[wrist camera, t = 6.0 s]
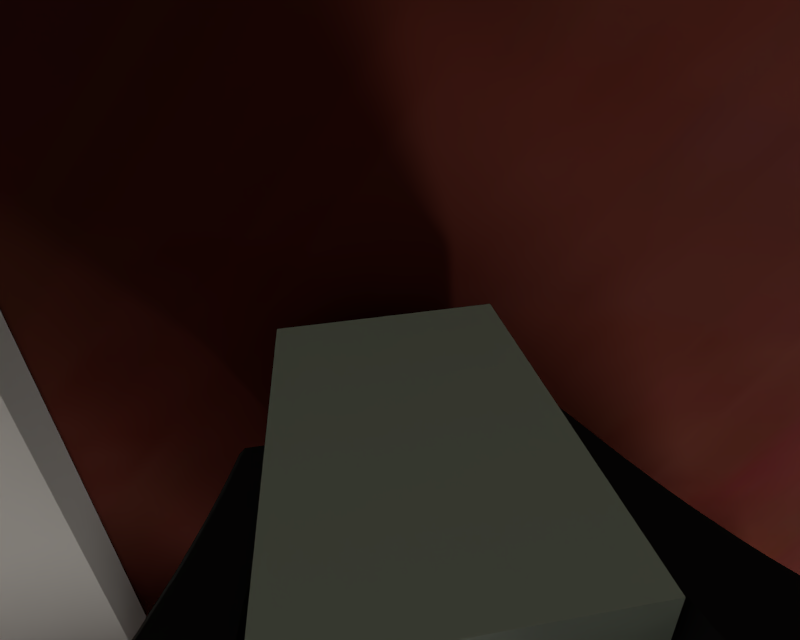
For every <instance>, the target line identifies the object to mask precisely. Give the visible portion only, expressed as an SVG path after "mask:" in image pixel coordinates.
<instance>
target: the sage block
mask: <svg viewBox="0 0 800 640" xmlns="http://www.w3.org/2000/svg"><path fill="white" fill-rule="evenodd" d="M685 598H686V597H685V596H684V594H683V593H682V591H681V590H680V588H679V587H678V585H677V584H676V582H675V581H674V579H673V578H672V576H671V575H670V573H669V572H668V570H667V569H666V567H665V566H664V564H663V563H662V561H661V560H660V558H659V557H658V555H657V554H656V552H655V551H654V549H653V548H652V546H651V545H650V543H649V542H648V540H647V539H646V537H645V536H644V534H643V533H642V531H641V530H640V528H639V527H638V525H637V524H636V522H635V521H634V519H633V518H632V516H631V515H630V513H629V512H628V510H627V509H626V507H625V506H624V504H623V503H622V501H621V500H620V498H619V497H618V495H617V494H616V492H615V491H614V489H613V488H612V486H611V485H610V483H609V482H608V480H607V479H606V477H605V476H604V474H603V473H602V471H601V470H600V468H599V467H598V465H597V464H596V462H595V461H594V459H593V458H592V456H591V455H590V453H589V452H588V450H587V449H586V447H585V446H584V444H583V443H582V441H581V440H580V438H579V437H578V435H577V434H576V432H575V431H574V429H573V428H572V426H571V425H570V423H569V422H568V420H567V419H566V417H565V416H564V414H563V413H562V411H561V410H560V408H559V407H558V405H557V404H556V402H555V401H554V399H553V398H552V396H551V395H550V393H549V392H548V390H547V389H546V387H545V386H544V384H543V383H542V381H541V380H540V378H539V377H538V375H537V374H536V372H535V371H534V369H533V368H532V366H531V365H530V363H529V362H528V360H527V359H526V357H525V356H524V354H523V353H522V351H521V350H520V348H519V347H518V345H517V344H516V342H515V341H514V339H513V338H512V336H511V335H510V333H509V332H508V330H507V329H506V327H505V326H504V324H503V323H502V321H501V320H500V318H499V317H498V315H497V314H496V312H495V311H494V309H493V308H492V306H491V305H490V304H485V305H476V306H468V307H460V308H451V309H443V310H434V311H426V312H417V313H409V314H400V315H392V316H383V317H375V318H366V319H358V320H349V321H341V322H332V323H324V324H315V325H307V326H298V327H290V328H281V329H277V334H276V343H275V353H274V362H273V372H272V381H271V391H270V401H269V410H268V420H267V429H266V439H265V448H264V458H263V468H262V477H261V487H260V496H259V506H258V515H257V525H256V535H255V544H254V554H253V563H252V573H251V583H250V592H249V602H248V611H247V621H246V630H245V640H671V638H672V636H673V633H674V630H675V627H676V624H677V621H678V618H679V615H680V612H681V609H682V606H683V603H684V600H685Z"/></svg>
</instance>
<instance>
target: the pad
mask: <svg viewBox="0 0 800 640" xmlns="http://www.w3.org/2000/svg"><path fill="white" fill-rule="evenodd" d="M145 619H146V615H145V613H144V611H143V609H142V607H141V605H140V602H139V600H138V598H137V596H136V594H135V592H134V590H133V588H132V586H131V584H130V581H129V579H128V577H127V575H126V573H125V571H124V569H123V567H122V565H121V563H120V560H119V558H118V556H117V554H116V552H115V550H114V548H113V546H112V544H111V542H110V540H109V537H108V535H107V533H106V531H105V529H104V527H103V525H102V523H101V521H100V519H99V516H98V514H97V512H96V510H95V508H94V506H93V504H92V502H91V500H90V498H89V495H88V493H87V491H86V489H85V487H84V485H83V483H82V481H81V479H80V477H79V475H78V472H77V470H76V468H75V466H74V464H73V462H72V460H71V458H70V456H69V454H68V451H67V449H66V447H65V445H64V443H63V441H62V439H61V437H60V435H59V433H58V430H57V428H56V426H55V424H54V422H53V420H52V418H51V416H50V414H49V412H48V410H47V407H46V405H45V403H44V401H43V399H42V397H41V395H40V393H39V391H38V389H37V386H36V384H35V382H34V380H33V378H32V376H31V374H30V372H29V370H28V368H27V365H26V363H25V361H24V359H23V357H22V355H21V353H20V351H19V349H18V347H17V345H16V342H15V340H14V338H13V336H12V334H11V332H10V330H9V328H8V326H7V324H6V321H5V319H4V317H3V315H2V313H1V311H0V640H132V639H133V637H134V636H135V634H136V633H137V631H138V630H139V628H140V627H141V625H142V623H143V622H144V620H145Z"/></svg>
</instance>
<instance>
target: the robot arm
mask: <svg viewBox="0 0 800 640" xmlns="http://www.w3.org/2000/svg"><path fill="white" fill-rule="evenodd" d="M560 410H561V411H562V413H563V414H564V416H565V417H566V419H567V420H568V422H569V423H570V425H571V426H572V428H573V429H574V431H575V432H576V434H577V435H578V437H579V438H580V440H581V441H582V443H583V444H584V446H585V447H586V449H587V450H588V452H589V453H590V455H591V456H592V458H593V459H594V461H595V462H596V464H597V465H598V467H599V468H600V470H601V471H602V473H603V474H604V476H605V477H606V479H607V480H608V482H609V483H610V485H611V486H612V488H613V489H614V491H615V492H616V494H617V495H618V497H619V498H620V500H621V501H622V503H623V504H624V506H625V507H626V509H627V510H628V512H629V513H630V515H631V516H632V518H633V519H634V521H635V522H636V524H637V525H638V527H639V528H640V530H641V531H642V533H643V534H644V536H645V537H646V539H647V540H648V542H649V543H650V545H651V546H652V548H653V549H654V551H655V552H656V554H657V555H658V557H659V558H660V560H661V561H662V563H663V564H664V566H665V567H666V569H667V570H668V572H669V573H670V575H671V576H672V578H673V579H674V581H675V582H676V584H677V585H678V587H679V588H680V590H681V591H682V593H683V594H684V596H685V597H686V598H685V600H684V603H683V606H682V609H681V612H680V615H679V618H678V621H677V624H676V627H675V630H674V633H673V636H672V638H671V640H800V575H798V574H797V573H795V572H793V571H792V570H790V569H788V568H786V567H785V566H783V565H781V564H780V563H778V562H776V561H775V560H773V559H771V558H769V557H768V556H766V555H765V554H763V553H761V552H760V551H758V550H757V549H755V548H753V547H752V546H750V545H749V544H747V543H745V542H744V541H742V540H741V539H739V538H738V537H736V536H735V535H733V534H732V533H730V532H729V531H727V530H726V529H724V528H723V527H721V526H720V525H718V524H717V523H715V522H714V521H712V520H711V519H709V518H708V517H706V516H705V515H703V514H702V513H700V512H699V511H697V510H696V509H694V508H693V507H691V506H690V505H688V504H687V503H686V502H684V501H683V500H681V499H680V498H678V497H677V496H676V495H674V494H673V493H671V492H670V491H669V490H667V489H666V488H664V487H663V486H662V485H660V484H659V483H657V482H656V481H655V480H653V479H652V478H651V477H649V476H648V475H647V474H645V473H644V472H643V471H641V470H640V469H638V468H637V467H636V466H634V465H633V464H632V463H631V462H629V461H628V460H627V459H625V458H624V457H623V456H621V455H620V454H619V453H617V452H616V451H615V450H614V449H612V448H611V447H610V446H608V445H607V444H606V443H604V442H603V441H602V440H601V439H599V438H598V437H597V436H595V435H594V434H593V433H592V432H590V431H589V430H588V429H587V428H585V427H584V426H583V425H581V424H580V423H579V422H578V421H576V420H575V419H574V418H572V417H571V416H570V415H569V414H567V413H566V412H565V411H563V410H562V409H561V408H560ZM264 448H265V446H258V447H251V448H245V449H244V450H243V451H242V452H241V453H240V454H239V456H238V458H237V460H236V463H235V465H234V467H233V469H232V471H231V473H230V475H229V477H228V479H227V481H226V483H225V485H224V487H223V489H222V491H221V493H220V495H219V497H218V498H217V500H216V502H215V504H214V506H213V508H212V510H211V511H210V513H209V515H208V517H207V519H206V521H205V522H204V524H203V526H202V528H201V529H200V531H199V533H198V535H197V536H196V538H195V540H194V541H193V543H192V545H191V547H190V548H189V550H188V552H187V553H186V555H185V557H184V559H183V560H182V562H181V564H180V565H179V567H178V569H177V570H176V572H175V574H174V575H173V577H172V579H171V580H170V582H169V583H168V585H167V586H166V588H165V589H164V591H163V593H162V594H161V596H160V597H159V599H158V600H157V602H156V603H155V605H154V606H153V608H152V610H151V611H150V613H149V614H148V616H147V617H146V619H145V620H144V622H143V623H142V625H141V627H140V628H139V630H138V631H137V633H136V634H135V636H134V637H133V639H132V640H245V630H246V621H247V611H248V602H249V592H250V583H251V573H252V563H253V554H254V544H255V535H256V525H257V515H258V506H259V496H260V487H261V477H262V468H263V458H264Z"/></svg>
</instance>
